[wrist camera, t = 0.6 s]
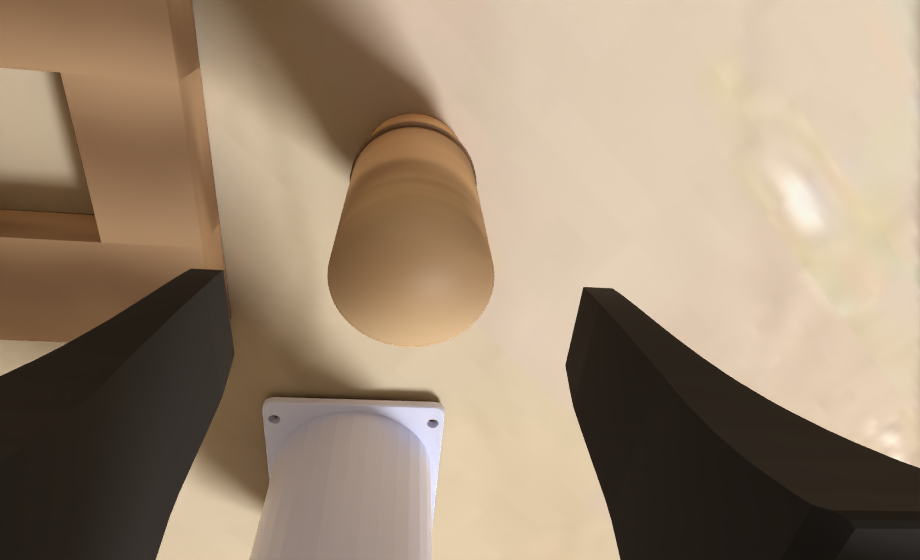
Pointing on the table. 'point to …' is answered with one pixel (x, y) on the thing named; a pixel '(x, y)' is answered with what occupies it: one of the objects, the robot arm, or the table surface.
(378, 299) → the peg
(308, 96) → the table surface
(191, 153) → the board
